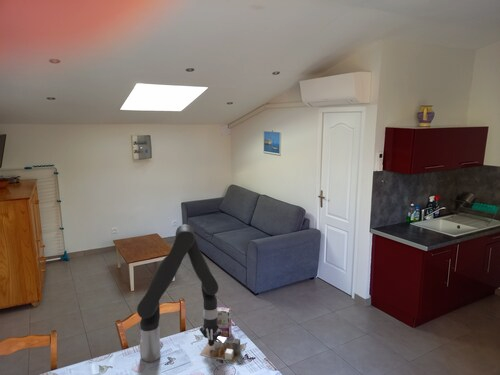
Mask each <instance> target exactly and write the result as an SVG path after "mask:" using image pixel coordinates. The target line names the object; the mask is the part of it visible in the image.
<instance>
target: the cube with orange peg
mask: <svg viewBox="0 0 500 375" xmlns="http://www.w3.org/2000/svg"><path fill="white" fill-rule="evenodd" d="M227 338H228V337H221V336H218V337H217V339H216V340H215V341H214V347H215V352H218V353H219V356H220V355H221V354H222V353H223V354H224V352H225V350H226V349H227V343H228V341H227V340H228V339H227Z"/></svg>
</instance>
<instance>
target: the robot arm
mask: <svg viewBox="0 0 500 375" xmlns="http://www.w3.org/2000/svg"><path fill="white" fill-rule="evenodd" d="M195 234H196V233H195V230H194V229H193V227H192V226H191V225H189V224H185V223H184V224H181V225H179V226H178V227H177V228H176V230H175V239H174V242H173V245H172V247H171V249H170V251H169V253H168V254H167V255H166V256H165V257H164V258H163V260H162V261H161V262H160V263H159V264H158V267H157V269H156V271H155V272H154V275H153V277H152V279H151V282H150V284H149V287H148V289H147V291H146V293H145V295H144V296H143V297H142V298H141V300H140V301H139V303H138V305H137V307H136V311H137V312H136V313H137V315H138V316H139V317H140V322H139V326H140V327H139V328H140V341H139V354H140V356H139V357H140V359H142V360H143V362H146V363H152V362H156V361H158V359H160V357H161V354H162V353H161V339H160V337H161V335H160V317H161V315H160V312H161V311H160V306H161V305H160V301H161V298H162V296H163V294H165V292H166V291H167V290H168V288H169V287H170V285H171V283H172V282H173V280H174V278H175V277H176V274H177V273H178V270H179V268H180V267H181V265H182V262H183V259H184V258H185V256H186V255H188V258H189V261H190V263H191V266H192V268H193V271H194V272H195V275H196V277H197V278H198V279H199V280H200V282H201V287H200V288H201V292H202V293H201V294H202V297H203V313H202V314H203V325H201V327H200V328H199V331H200V333H201V334H202V335H203V338H205V339H207V343H208V344H209V346H212V345H213V344H214V340H216V339H217V337H218V336H219V335H220V334H221V333H222V331H223V330H220V329H219V326H218V310H217V307H218V300H217V299H218V298H217V296H216V294H217V293H218V292H219V284H218V282H217V279H216V278H215V277H214V276H213V274H212V272H211V270H210V267H209V266H208V264H207V261H206V259H205V258H204V256H203V253H202V252H201V249H200V247H199V245H198V242H197V238H196V235H195ZM216 331H217V334H216V336H215V332H216Z"/></svg>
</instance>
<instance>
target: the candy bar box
mask: <svg viewBox="0 0 500 375" xmlns="http://www.w3.org/2000/svg"><path fill="white" fill-rule="evenodd" d="M217 310H218V326H219V329H220V330H223V331H222V333H221V334H220V335H219V336H220V337H226V338H230V337H231V336H232V308H230V307H223V306H217ZM216 334H217V331H216V332H215V336H216Z"/></svg>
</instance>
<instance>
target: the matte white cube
mask: <svg viewBox="0 0 500 375" xmlns="http://www.w3.org/2000/svg"><path fill="white" fill-rule="evenodd" d="M233 356H234V350H232V349H227V350H226V351H225V359H228V360H232V358H233Z"/></svg>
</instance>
